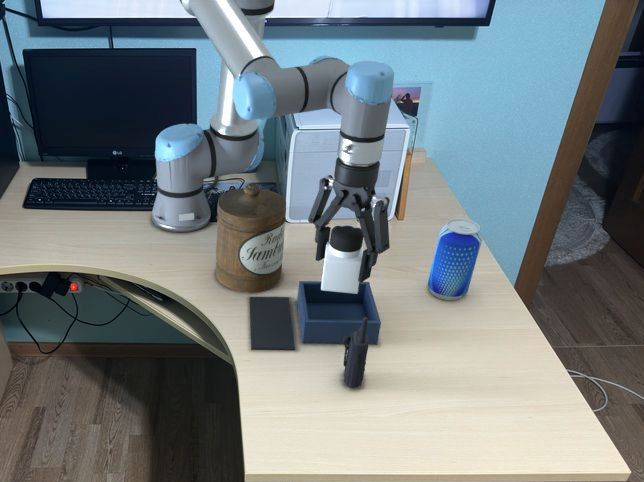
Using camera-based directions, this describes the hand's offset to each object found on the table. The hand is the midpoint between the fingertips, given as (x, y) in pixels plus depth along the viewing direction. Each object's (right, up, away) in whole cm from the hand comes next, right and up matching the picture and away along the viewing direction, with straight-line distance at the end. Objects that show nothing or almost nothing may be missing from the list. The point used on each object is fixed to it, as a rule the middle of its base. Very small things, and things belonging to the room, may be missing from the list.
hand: (342, 268), depth 130 cm
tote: (0, -10, +8) cm, 13 cm away
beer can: (+26, -3, +16) cm, 31 cm away
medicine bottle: (0, -3, +2) cm, 4 cm away
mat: (-13, -10, +8) cm, 18 cm away
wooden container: (-16, +1, +23) cm, 28 cm away
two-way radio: (0, -22, -6) cm, 22 cm away
